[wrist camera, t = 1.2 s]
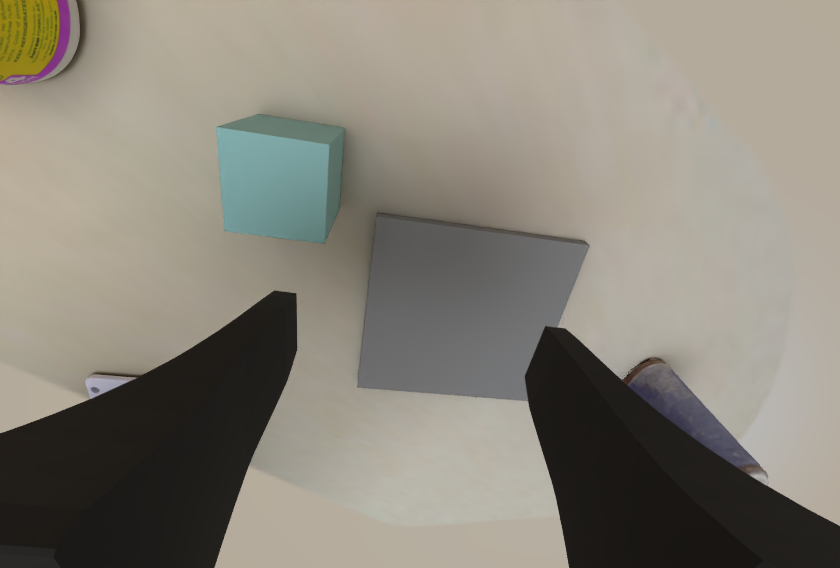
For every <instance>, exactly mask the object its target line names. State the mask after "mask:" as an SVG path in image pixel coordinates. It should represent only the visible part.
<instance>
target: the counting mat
mask: <svg viewBox="0 0 840 568" xmlns="http://www.w3.org/2000/svg"><path fill="white" fill-rule="evenodd" d="M589 246H590V245H589V244H587V243H586V242H585V241H579V240H571V239H564V238H557V237H549V236H542V235H535V234H527V233H520V232H513V231H505V230H498V229H491V228H483V227H476V226H469V225H462V224H454V223H447V222H440V221H432V220H425V219H418V218H410V217H403V216H396V215H388V214H381V213H377V217H376V226H375V235H374V243H373V252H372V261H371V270H370V279H369V288H368V297H367V306H366V315H365V324H364V333H363V341H362V350H361V359H360V368H359V377H358V386H357V387H358V388H371V389H383V390H396V391H408V392H421V393H434V394H446V395H459V396H471V397H484V398H496V399H509V400H522V401H528V397H527V390H526V383H525V374H526V371H527V369H528V367H529V364H530V362H531V359H532V357H533V354H534V352H535V350H536V347H537V345H538V342H539V340H540V337H541V335H542V332H543V330H544V328H545V326H549V327H557V326H558V324H559V321H560V319H561V316H562V314H563V311H564V309H565V306H566V304H567V301H568V299H569V296H570V294H571V291H572V289H573V286H574V284H575V281H576V279H577V276H578V274H579V271H580V268H581V266H582V263H583V261H584V258H585V256H586V253H587V251H588V248H589Z"/></svg>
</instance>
